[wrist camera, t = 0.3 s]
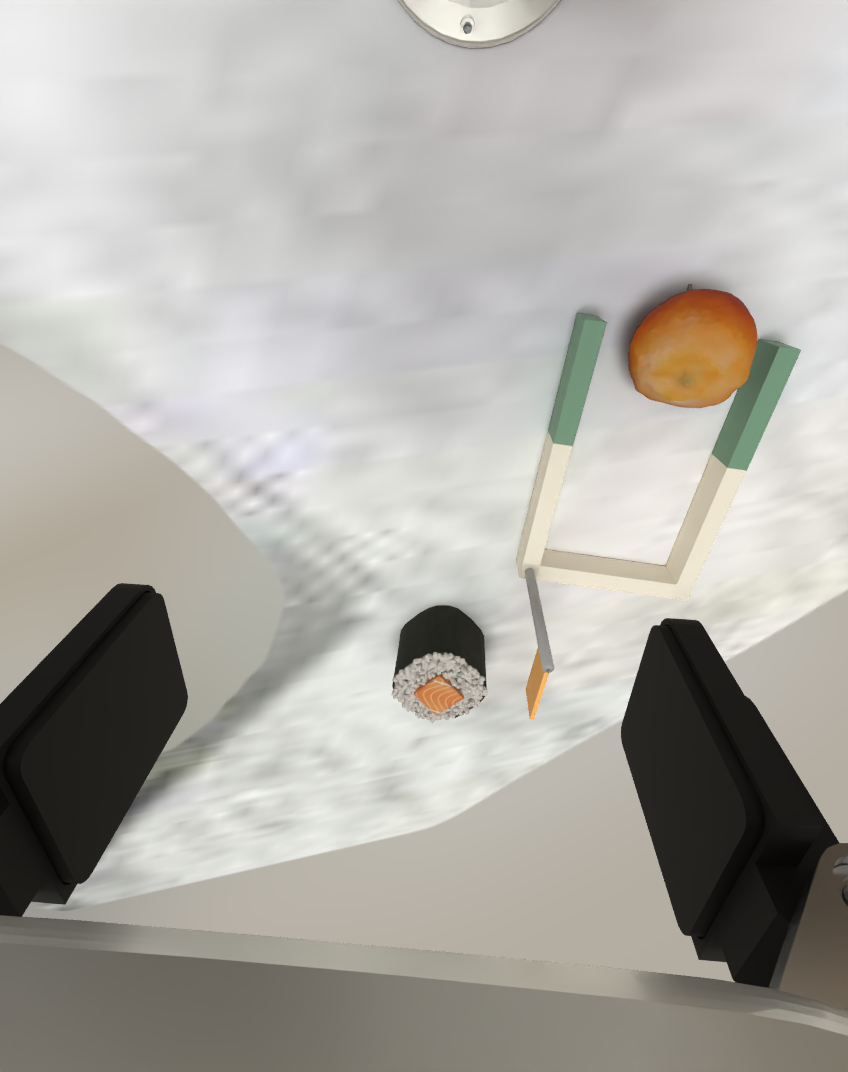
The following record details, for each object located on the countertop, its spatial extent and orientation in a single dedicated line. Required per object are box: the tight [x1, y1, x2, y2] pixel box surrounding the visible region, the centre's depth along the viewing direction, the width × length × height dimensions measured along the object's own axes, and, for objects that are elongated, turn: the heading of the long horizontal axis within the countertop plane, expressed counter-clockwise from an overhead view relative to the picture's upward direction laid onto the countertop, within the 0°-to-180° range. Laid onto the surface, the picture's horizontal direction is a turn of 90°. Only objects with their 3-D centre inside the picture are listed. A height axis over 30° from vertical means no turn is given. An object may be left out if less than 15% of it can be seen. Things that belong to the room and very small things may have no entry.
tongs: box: [516, 313, 801, 719], centre depth 40 cm, size 26×15×15 cm, turn 173°
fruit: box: [628, 284, 757, 408], centre depth 38 cm, size 8×8×8 cm
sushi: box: [392, 606, 488, 723], centre depth 52 cm, size 8×8×8 cm
